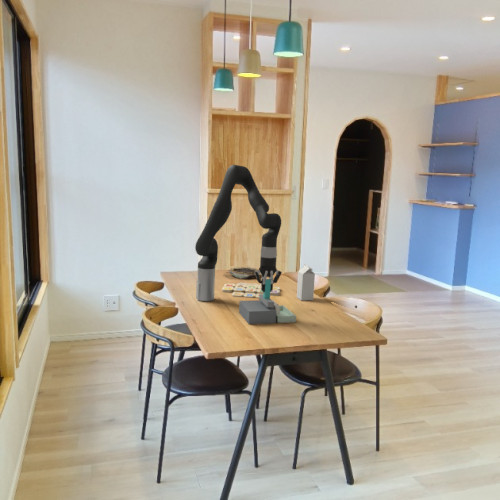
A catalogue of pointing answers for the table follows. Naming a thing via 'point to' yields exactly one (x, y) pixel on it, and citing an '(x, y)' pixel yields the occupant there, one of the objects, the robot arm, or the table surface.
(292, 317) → the box
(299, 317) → the table surface
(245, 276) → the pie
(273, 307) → the ceramic tile
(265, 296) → the scraper
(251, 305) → the block
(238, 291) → the alphabet tiles
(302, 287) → the milk carton
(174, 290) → the table surface
